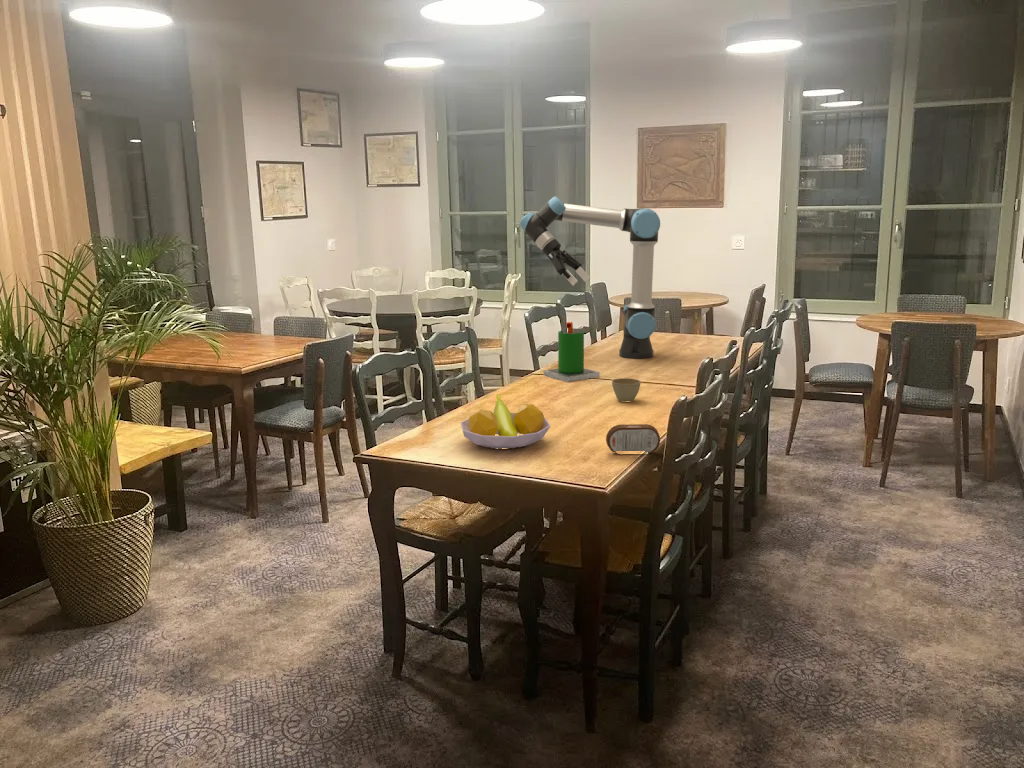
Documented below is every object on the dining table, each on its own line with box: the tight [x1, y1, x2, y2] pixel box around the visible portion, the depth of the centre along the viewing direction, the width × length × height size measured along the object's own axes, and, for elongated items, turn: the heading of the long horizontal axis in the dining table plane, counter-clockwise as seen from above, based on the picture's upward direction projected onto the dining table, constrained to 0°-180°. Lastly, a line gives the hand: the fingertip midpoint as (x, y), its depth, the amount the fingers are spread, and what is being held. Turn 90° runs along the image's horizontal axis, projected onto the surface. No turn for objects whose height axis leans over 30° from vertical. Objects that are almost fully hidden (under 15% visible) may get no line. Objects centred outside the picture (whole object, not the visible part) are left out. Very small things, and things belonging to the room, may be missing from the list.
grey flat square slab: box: [543, 367, 601, 383], centre depth 335 cm, size 16×16×2 cm
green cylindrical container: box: [557, 321, 585, 373], centre depth 333 cm, size 10×9×20 cm
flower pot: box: [611, 377, 642, 402], centre depth 294 cm, size 10×10×7 cm
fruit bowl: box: [460, 393, 551, 450], centre depth 247 cm, size 28×27×11 cm
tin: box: [605, 423, 661, 455], centre depth 234 cm, size 15×3×8 cm, turn 92°
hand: (581, 281), depth 346 cm, fingers open, 13 cm apart
